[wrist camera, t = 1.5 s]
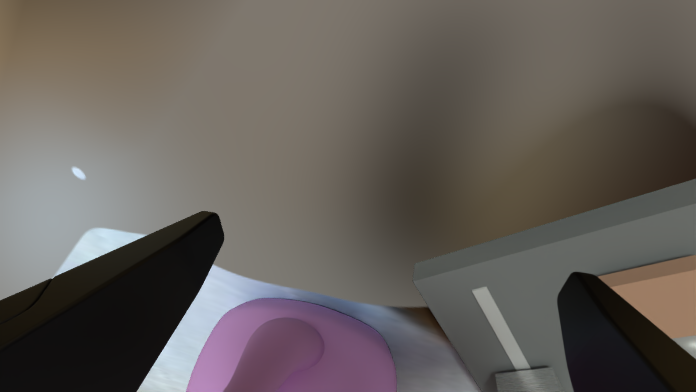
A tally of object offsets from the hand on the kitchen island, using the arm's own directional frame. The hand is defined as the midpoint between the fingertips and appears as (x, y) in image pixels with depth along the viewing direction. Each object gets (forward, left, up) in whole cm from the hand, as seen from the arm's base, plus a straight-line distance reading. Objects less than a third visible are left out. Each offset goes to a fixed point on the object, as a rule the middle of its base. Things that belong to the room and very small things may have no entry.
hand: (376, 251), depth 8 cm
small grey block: (-22, +1, -11) cm, 24 cm away
